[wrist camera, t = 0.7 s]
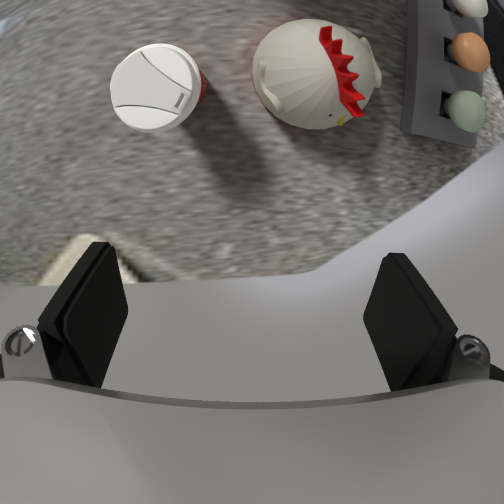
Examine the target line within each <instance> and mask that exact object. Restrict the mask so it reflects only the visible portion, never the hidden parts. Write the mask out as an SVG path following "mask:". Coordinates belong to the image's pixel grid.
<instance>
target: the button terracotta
mask: <svg viewBox="0 0 504 504" xmlns="http://www.w3.org/2000/svg"><path fill="white" fill-rule="evenodd" d="M447 54H448V56H449V57H450V59H452V60H454V61H457V63H458V64H459V65H460V66H461V67H462V68H463V69H464V70H466V71H471V72H484V71H486V70H487V69H488V67H489V64H490V54H489V50H488V48H487V46H486V44H485V42H484V41H483V39H482V38H481V37H480V36H478V35H477V34H475V33H459V34H457V35H455V36H454V38H453V40H452V44H449V45H448V46H447Z"/></svg>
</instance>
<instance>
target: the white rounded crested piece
mask: <svg viewBox="0 0 504 504" xmlns="http://www.w3.org/2000/svg"><path fill="white" fill-rule="evenodd" d="M251 75H252V80H253V84H254V89H255V91H256V93H257V95H258V97H259V98H260V100H261V102H262V104H263V105H264V106H265V107H266V108H267V109H268V110H269V111H270V112H271V113H272V114H273V115H274V116H276V117H277V118H279V119H281V120H283V121H284V122H286V123H288V124H290V125H293V126H297V127H301V128H304V129H327V128H331V127H335V126H338V125H340V126H342V125H343V123H345V122H346V121H348V120H350V119H351V118H353V117H354V118H356V117H360V116H364V113H363V111H362V109H363V108H364V107H365V105H366V104H367V103H368V101H369V99H370V97H371V94H372V92H373V90H374V87H375V88H380V86H381V82H382V76H381V71H380V69H379V67H378V66H377V63H376V61H375V58H374V55H373V53H372V49H371V47H370V44H369V42H368V40H367V39H366V38H365V37H362V38H361V39H358V38H357V36H355V35H354V34H353V33H351V32H350V31H348V30H347V29H345V28H344V27H342V26H339V25H337V24H334V23H331V22H328V21H325V20H318V19H300V20H295V21H291V22H287V23H284V24H283V25H281V26H279V27H277V28H276V29H274V30H272V31H271V32H270V33H269V34H268V35H267V36H266V37H265V38H264V39H263V40H262V41H261V43H260V44H259V46H258V48H257V50H256V53H255V55H254V57H253V62H252V73H251Z"/></svg>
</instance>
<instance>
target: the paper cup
mask: <svg viewBox="0 0 504 504" xmlns="http://www.w3.org/2000/svg"><path fill="white" fill-rule="evenodd" d="M110 90H111V99H112V103H113V107H114V110H115V112H116V113H117V115H118V116H119V117H120V119H121V120H122V121H123V122H124V123H126V124H127V125H128V126H130V127H132V128H133V129H135V130H138V131H141V132H147V133H156V132H162V131H166V130H169V129H171V128H173V127H175V126H177V125H178V124H180V123H182V122H183V121H184V120H185V119H186V118H187V117H188V116H189V115H190V114H191V112H192V111H193V109H194V108H195V106H196V105H197V104H198V103H199V102H200V101H201V100H202V98H203V97H204V95H205V92H206V80H205V77H204V75H203V74H202V72H201V71H200V70H199V69H198V67H197V65H196V63H195V62H194V60H193V59H192V58H191V57H190V56H189V54H187V53H186V52H185V51H183V50H182V49H180V48H178V47H176V46H173V45H169V44H152V45H147V46H144V47H141V48H139V49H137V50H136V51H134V52H132V53H131V54H130V55H128V56H127V57H126V58H125V59H124V60H123V61H122V62H121V63H120V64H119V65H118V66H117V68H116V69H115V71H114V73H113V76H112V79H111V83H110Z"/></svg>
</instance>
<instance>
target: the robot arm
mask: <svg viewBox="0 0 504 504" xmlns="http://www.w3.org/2000/svg"><path fill="white" fill-rule="evenodd" d="M127 315H128V305H127V301H126V297H125V293H124V289H123V284H122V280H121V275H120V271H119V266H118V261H117V256H116V251H115V248H114V247H113V246H111V245H110V243H108V242H93V243H91V245H90V246H89V247H88V249H87V250H86V251H85V252H84V254H83V255H82V256H81V258H80V259H79V260H78V262H77V263H76V264H75V266H74V267H73V269H72V270H71V271H70V273H69V274H68V275H67V277H66V278H65V280H64V281H63V283H62V284H61V285H60V287H59V288H58V290H57V291H56V293H55V294H54V296H53V297H52V299H51V300H50V302H49V303H48V305H47V306H46V308H45V309H44V311H43V312H42V314H41V316H40V317H39V319H38V321H39V324H38V326H37V328H35V327H34V326H31V325H21V326H18V327H16V328H14V329H12V330H11V331H10V332H9V333H7V335H6V336H5V338H4V339H3V342H2V344H1V354H0V504H504V371H503V370H501V369H500V368H498V367H496V366H494V365H492V364H490V353H489V350H488V348H487V346H486V345H485V344H484V343H483V342H482V341H481V340H480V339H478V338H477V337H475V336H472V335H466V334H465V335H461V336H460V337H459V338H458V339H457V338H456V336H455V334H456V332H457V331H458V328H457V326H456V325H455V323H454V322H453V320H452V319H451V317H450V316H449V314H448V313H447V311H446V310H445V308H444V307H443V305H442V304H441V302H440V301H439V299H438V298H437V297H436V295H435V294H434V292H433V291H432V290H431V288H430V287H429V285H428V284H427V283H426V281H425V280H424V279H423V277H422V276H421V274H420V273H419V272H418V270H417V269H416V268H415V267H414V265H413V264H412V263H411V261H410V260H409V259H408V257H407V256H406V255H405V254H404V253H388V255H387V256H386V257H384V258H383V259H382V263H381V265H380V269H379V271H378V275H377V278H376V281H375V284H374V286H373V289H372V292H371V295H370V298H369V301H368V303H367V306H366V309H365V311H364V315H363V320H364V324H365V326H366V329H367V331H368V333H369V336H370V338H371V341H372V343H373V346H374V348H375V351H376V353H377V356H378V359H379V361H380V363H381V366H382V369H383V371H384V374H385V377H386V380H387V382H388V385H389V388H390V390H391V392H387V393H380V394H373V395H365V396H357V397H348V398H338V399H327V400H312V401H294V402H220V401H202V400H187V399H176V398H166V397H157V396H148V395H140V394H134V393H127V392H120V391H114V390H107V389H101V386H102V384H103V381H104V378H105V375H106V372H107V369H108V366H109V363H110V360H111V358H112V355H113V352H114V350H115V347H116V344H117V341H118V339H119V336H120V333H121V331H122V328H123V326H124V323H125V321H126V318H127Z"/></svg>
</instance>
